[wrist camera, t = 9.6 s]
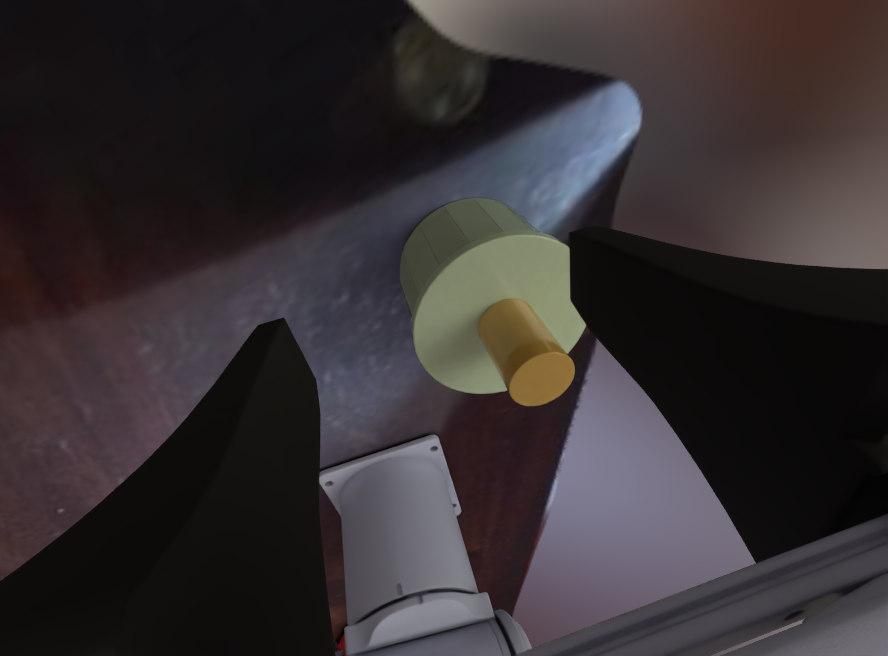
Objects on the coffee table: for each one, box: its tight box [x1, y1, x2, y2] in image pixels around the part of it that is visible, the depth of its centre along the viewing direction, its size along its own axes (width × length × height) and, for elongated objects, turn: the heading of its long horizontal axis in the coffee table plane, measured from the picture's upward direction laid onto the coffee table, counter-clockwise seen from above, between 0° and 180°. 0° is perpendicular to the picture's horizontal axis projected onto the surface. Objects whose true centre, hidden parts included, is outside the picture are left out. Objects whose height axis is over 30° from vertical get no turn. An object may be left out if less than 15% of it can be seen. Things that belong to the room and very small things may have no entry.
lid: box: [411, 230, 586, 406], centre depth 17 cm, size 8×8×5 cm
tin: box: [400, 198, 540, 317], centre depth 20 cm, size 7×7×5 cm
